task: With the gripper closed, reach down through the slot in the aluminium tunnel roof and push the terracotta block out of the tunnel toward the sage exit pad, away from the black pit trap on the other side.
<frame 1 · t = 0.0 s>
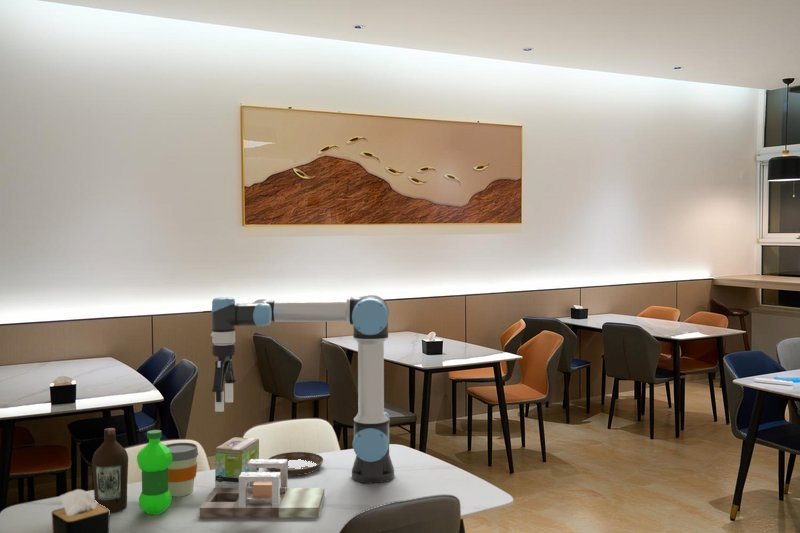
hand: (224, 406, 254), 28 cm above the table, fingers open, 13 cm apart
tea box: (237, 485, 259), on the table
plant saucer: (295, 469, 278), on the table
tunnel: (264, 482, 238), on the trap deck, point 8 cm above the table
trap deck: (264, 506, 238), on the table
plastic bottle: (155, 512, 235), on the table
terracotta block: (264, 497, 238), point 3 cm above the table, touching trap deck
reusable coffee cup: (179, 492, 253), on the table
olive oil: (110, 508, 238), on the table
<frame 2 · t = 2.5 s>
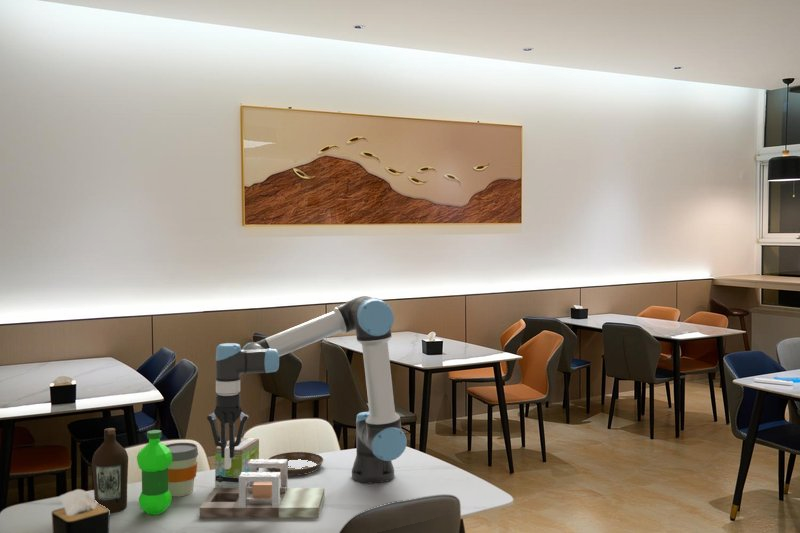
hand: (227, 467, 238), 12 cm above the table, fingers closed
nothing on the table moved.
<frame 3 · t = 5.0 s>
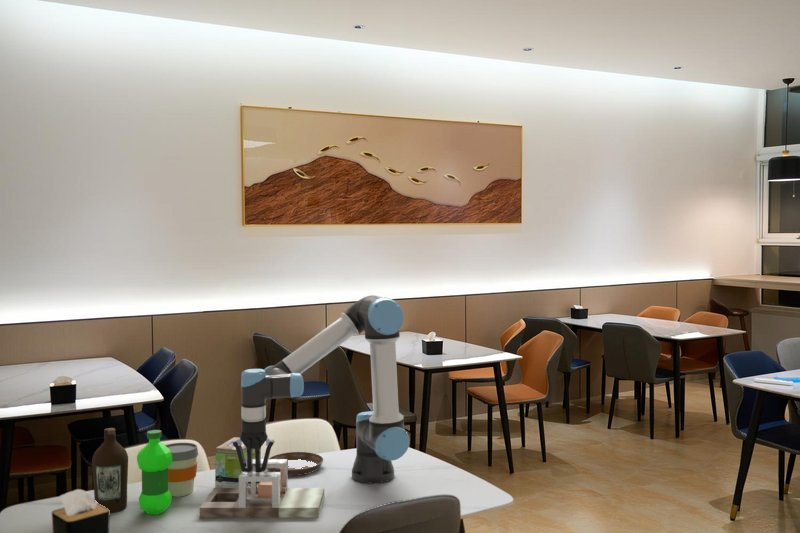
hand: (254, 493, 238), 4 cm above the table, fingers closed
terracotta block: (269, 497, 238), point 3 cm above the table, touching gripper, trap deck
everything else where it was.
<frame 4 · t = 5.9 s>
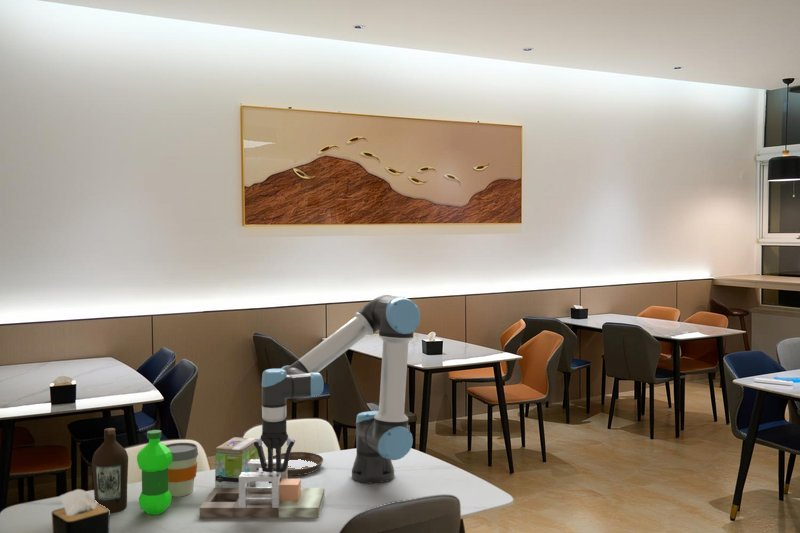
hand: (274, 493, 238), 4 cm above the table, fingers closed
terracotta block: (290, 497, 238), point 3 cm above the table, touching gripper
everything else where it was.
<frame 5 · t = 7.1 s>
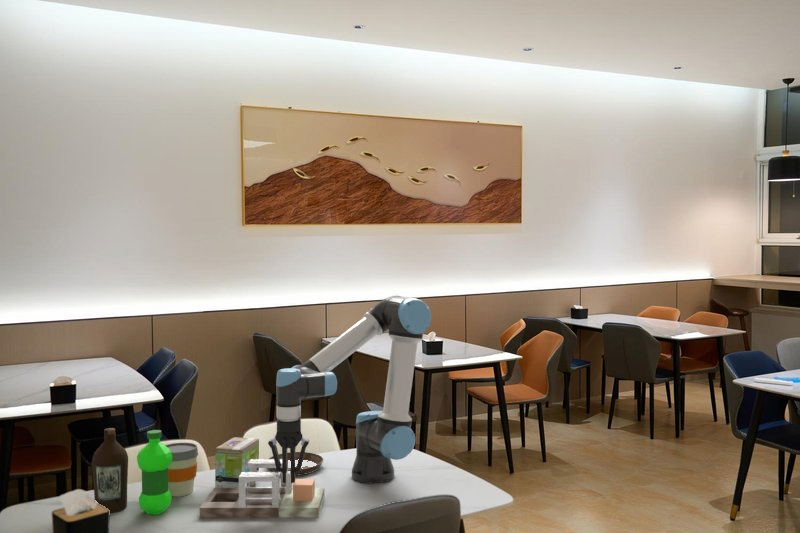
hand: (289, 492, 238), 4 cm above the table, fingers closed
terracotta block: (304, 497, 238), point 3 cm above the table, touching gripper, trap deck
everything else where it was.
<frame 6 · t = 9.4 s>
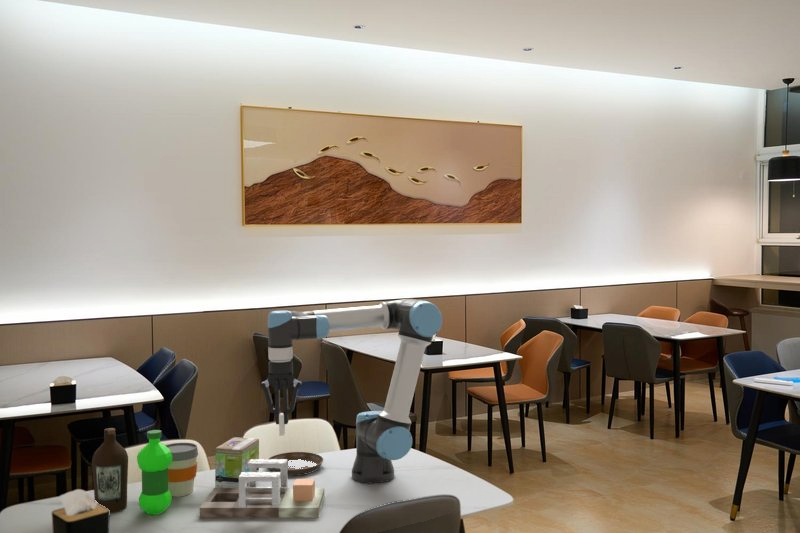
hand: (282, 434, 239), 23 cm above the table, fingers closed
terracotta block: (304, 497, 238), point 3 cm above the table, touching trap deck
everything else where it was.
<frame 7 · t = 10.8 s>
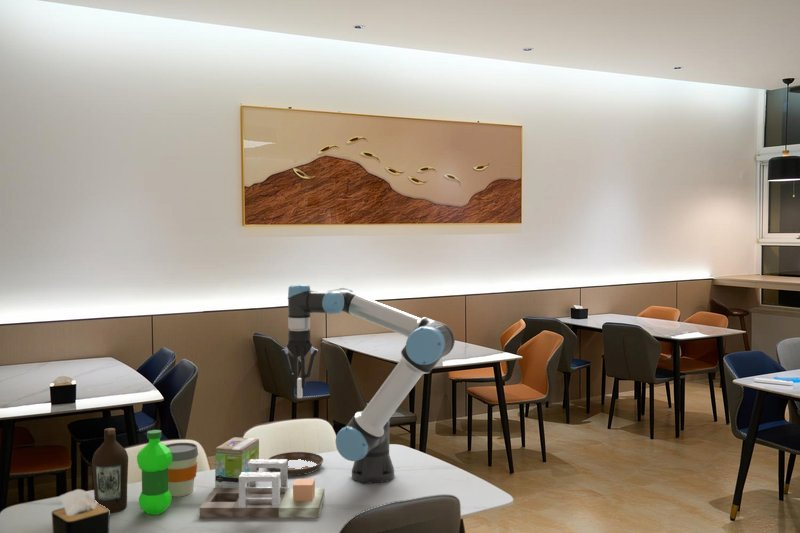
hand: (299, 397, 262), 29 cm above the table, fingers closed
nothing on the table moved.
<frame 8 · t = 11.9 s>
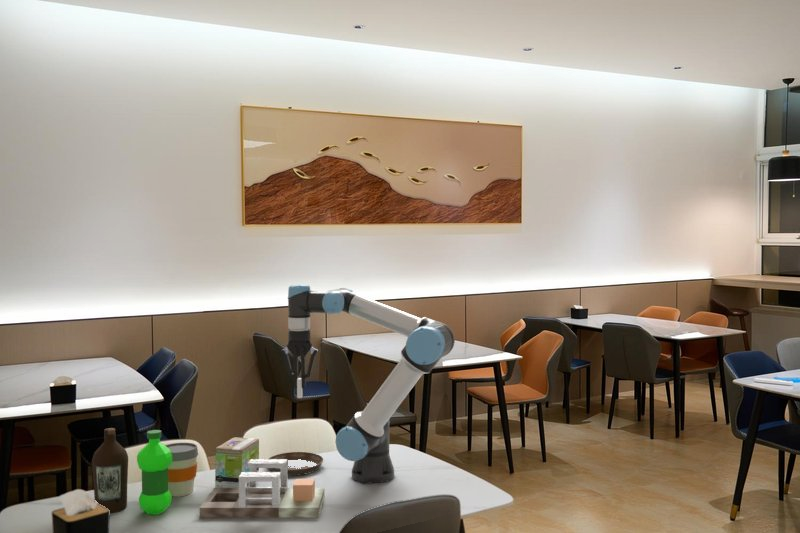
hand: (299, 397, 262), 29 cm above the table, fingers closed
nothing on the table moved.
at the end: terracotta block inside the target area on the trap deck (0.7 cm from its centre), point 3.0 cm above the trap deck's base; terracotta block tilted 0° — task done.
